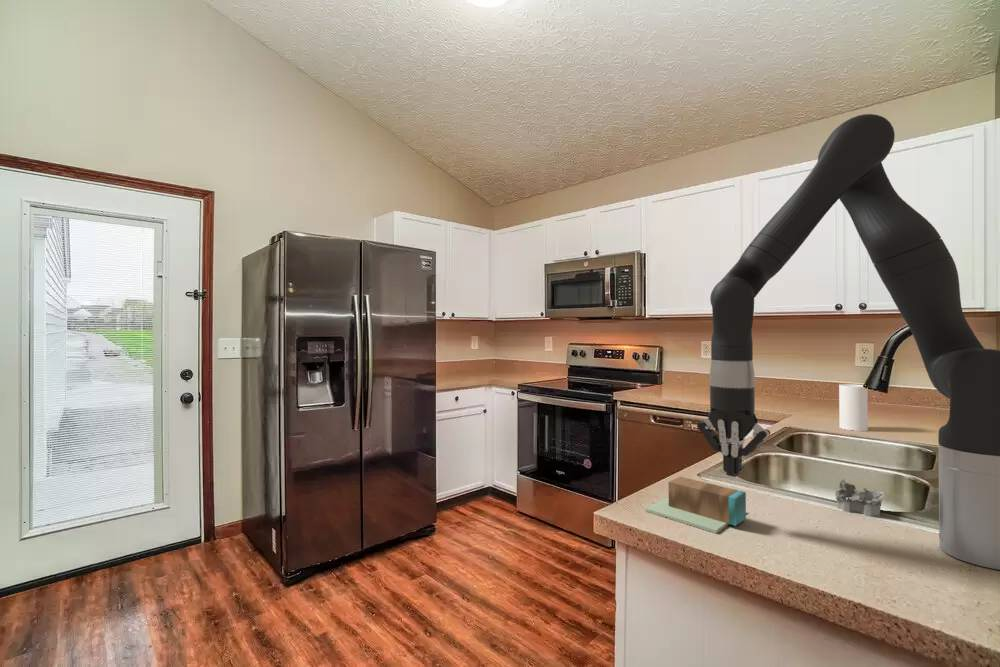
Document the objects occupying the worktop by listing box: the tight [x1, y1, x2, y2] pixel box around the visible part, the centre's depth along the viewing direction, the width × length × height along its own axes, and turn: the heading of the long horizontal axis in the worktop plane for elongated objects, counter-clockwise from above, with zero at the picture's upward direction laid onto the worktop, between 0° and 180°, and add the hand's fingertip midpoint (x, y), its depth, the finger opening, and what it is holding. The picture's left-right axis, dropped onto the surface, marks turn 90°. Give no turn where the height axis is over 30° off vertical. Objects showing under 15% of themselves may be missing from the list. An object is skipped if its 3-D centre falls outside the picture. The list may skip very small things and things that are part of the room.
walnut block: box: [667, 476, 747, 527], centre depth 89 cm, size 5×5×13 cm
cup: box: [838, 383, 869, 432], centre depth 166 cm, size 8×8×16 cm
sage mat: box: [645, 496, 730, 534], centre depth 91 cm, size 14×14×1 cm
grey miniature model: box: [835, 479, 885, 517], centre depth 93 cm, size 11×8×4 cm
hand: (732, 475), depth 86 cm, fingers closed
